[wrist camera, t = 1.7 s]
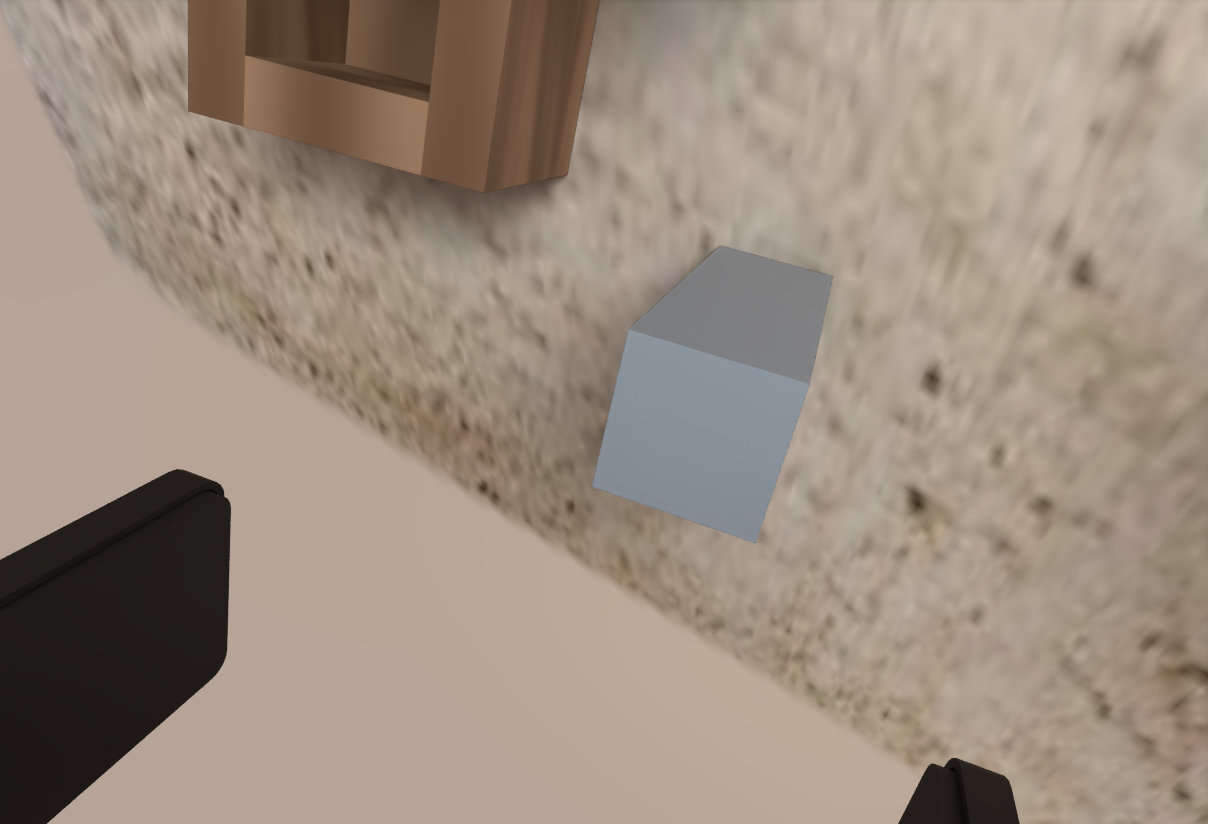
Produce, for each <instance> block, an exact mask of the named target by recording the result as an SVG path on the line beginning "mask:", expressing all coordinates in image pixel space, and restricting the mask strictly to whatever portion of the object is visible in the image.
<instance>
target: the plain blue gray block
mask: <svg viewBox="0 0 1208 824" xmlns="http://www.w3.org/2000/svg"><path fill="white" fill-rule="evenodd" d="M832 280H833V276H830V275H826V274H823V273H819V272H815V271H812V270H808V269H804V268H801V267H797V266H793V265H790V264H786V263H782V262H779V261H775V260H771V259H768V258H764V257H760V256H757V255H753V254H750V253H746V252H742V251H739V250H735V249H731V248H728V247H724V246H719V247H718V248H717V249H716V250H715V251H714V252H713V253H712V254H711V255H710V256H708V257H707V258H706V259H705V260H704V261H703V262H702V263H701V264H700V265H699V266H697V267H696V268H695V269H694V270H693V271H692V272H691V273H690V274H689V275H688V276H687V277H685V278H684V279H683V280H682V281H681V282H680V283H679V284H678V285H677V286H676V287H674V288H673V289H672V290H671V291H670V292H669V293H668V294H667V295H666V296H665V297H663V298H662V299H661V300H660V301H659V302H658V303H657V304H656V305H655V306H654V307H653V308H651V309H650V310H649V311H648V312H647V313H646V314H645V315H644V316H643V317H642V318H640V319H639V320H638V321H637V322H636V323H635V324H634V325H633V326H632V327H631V328H630V329H629V330H628V334H627V338H626V342H625V347H624V351H623V355H622V360H621V364H620V368H619V372H618V377H617V381H616V385H615V390H614V394H613V398H612V402H611V407H610V411H609V415H608V420H607V424H606V428H605V432H604V437H603V441H602V445H601V450H600V454H599V458H598V462H597V467H596V471H595V475H594V480H593V484H592V487H594V488H597V489H600V490H602V491H605V492H608V493H611V494H614V495H617V496H620V497H623V498H626V499H629V500H631V501H634V502H637V503H640V504H643V505H646V506H649V507H652V508H655V509H658V510H660V511H663V512H666V513H669V514H672V515H675V516H678V517H681V518H684V519H686V520H689V521H692V522H695V523H698V524H701V525H704V526H707V527H710V528H713V529H715V530H718V531H721V532H724V533H727V534H730V535H733V536H736V537H739V538H742V539H744V540H747V541H750V542H753V543H756V540H757V537H758V534H759V531H760V528H761V525H762V522H763V519H764V517H765V514H766V511H767V508H768V505H769V502H770V499H771V496H772V493H773V490H774V487H775V484H776V481H777V478H778V475H779V473H780V470H781V467H782V464H783V461H784V458H785V455H786V452H787V449H788V446H789V443H790V440H791V437H792V434H793V431H794V429H795V426H796V423H797V420H798V417H799V414H800V411H801V408H802V405H803V402H804V399H805V396H806V393H807V390H808V387H809V384H810V380H811V376H812V371H813V367H814V362H815V357H816V353H817V348H818V344H819V339H820V335H821V330H822V325H823V321H824V316H825V312H826V307H827V303H828V298H829V294H830V289H831V284H832Z"/></svg>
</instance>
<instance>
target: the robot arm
mask: <svg viewBox="0 0 1208 824" xmlns="http://www.w3.org/2000/svg"><path fill="white" fill-rule="evenodd" d="M230 517H231V506H230V502H229V500H228V499H227V498H225V497H224V490H223V488H222V486H221V485H220V484H218V483H217V482H215V481H212V480H209V479H207V478H204V477H201V476H199V475H196V474H193V473H191V472H188V471H185V470H178V469H176V470H173V471H170V472H168V473H166V474H164V475H162V476H160V477H158V478H156V479H154V480H152V481H151V482H149V483H147V484H145V485H143V486H141V487H139V488H137V489H135V490H133V491H131V492H129V493H128V494H126V495H124V496H122V497H120V498H118V499H116V500H115V501H112V502H111V503H108V504H106V505H105V506H103V507H101V508H99V509H97V510H95V511H93V512H91V513H89V514H87V515H85V516H83V517H82V518H80V519H78V520H76V521H74V522H72V523H70V524H68V525H66V526H64V527H62V528H60V529H58V530H57V531H55V532H53V533H51V534H49V535H47V536H45V537H43V538H41V539H39V540H37V541H35V542H34V543H32V544H30V545H28V546H26V547H24V548H22V549H20V550H18V551H16V552H14V553H12V554H11V555H9V556H7V557H5V558H3V559H1V560H0V824H47V823H48V822H49V821H50V820H51V819H52V818H54V817H55V816H56V815H57V814H58V813H59V812H60V811H62V809H64V808H65V807H66V806H67V805H69V804H70V803H71V802H72V801H73V800H74V799H75V798H76V797H78V796H79V795H80V794H81V793H82V792H83V791H84V790H86V789H87V788H88V787H89V786H90V785H91V784H92V783H94V782H95V781H96V780H97V779H98V778H99V777H100V776H102V775H103V774H104V773H105V772H106V771H107V770H108V769H109V768H111V767H112V766H113V765H114V764H115V763H116V762H118V761H119V760H120V759H121V758H122V757H123V756H124V755H125V754H127V753H128V752H129V751H130V750H131V749H132V748H134V747H135V746H136V745H137V744H138V743H139V742H140V741H142V740H143V739H144V738H145V737H146V736H147V735H148V734H150V733H151V732H152V731H153V730H154V729H155V728H156V727H157V726H159V725H160V724H161V723H162V722H163V721H164V720H166V719H167V718H168V717H169V716H170V715H171V714H172V713H174V712H175V711H176V710H177V709H178V708H179V707H180V706H181V705H183V704H184V703H185V702H186V701H187V700H188V699H189V698H191V697H192V696H193V695H194V694H195V693H196V692H198V690H200V689H201V688H202V687H203V686H204V685H205V684H207V683H208V682H209V681H210V680H211V679H212V678H213V677H214V676H215V675H216V674H217V673H218V671H219V670H220V668H221V667H222V665H223V663H224V660H225V657H226V654H227V636H228V635H227V634H228V598H229V597H228V596H229V560H230V559H229V558H230V522H231V518H230ZM898 824H1020V823H1019V819H1018V815H1017V810H1016V806H1015V801H1014V797H1013V792H1012V788H1011V785H1010V783H1009V780H1008V779H1007V778H1006V777H1005V776H1003V775H1000V774H998V773H995V772H992V771H990V770H987V769H984V768H982V767H979V766H976V765H974V764H971V763H968V762H966V761H963V760H960V759H958V758H952V759H950V760H949V761H948V762H947V764H946V765H945V767H941V766H939V765H936V764H930V765H929V766H928V768H927V769H926V771H925V772H924V774H923V776H922V778H921V780H920V782H919V784H918V786H917V788H916V790H915V792H914V794H913V796H912V798H911V800H910V802H909V804H908V806H907V808H906V810H905V812H904V813H903V816H902V817H901V820H900V821H899V823H898Z"/></svg>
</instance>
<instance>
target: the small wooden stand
mask: <svg viewBox="0 0 1208 824" xmlns="http://www.w3.org/2000/svg"><path fill="white" fill-rule="evenodd" d="M599 1H600V0H188V111H189V112H193V113H197V114H200V115H204V116H208V117H211V118H215V119H218V120H222V121H226V122H229V123H233V124H236V125H240V126H244V127H247V128H251V129H255V130H258V131H262V132H265V133H269V134H273V135H276V136H280V137H283V138H287V139H291V140H294V141H298V142H302V143H305V144H309V145H312V146H316V147H320V148H323V149H327V150H330V151H334V152H338V153H341V154H345V155H349V156H352V157H356V158H359V159H363V160H367V161H370V162H374V163H377V164H381V165H385V166H388V167H392V168H396V169H399V170H403V171H406V172H410V173H414V174H417V175H421V176H424V177H428V178H432V179H435V180H439V181H443V182H446V183H450V184H453V185H457V186H461V187H464V188H468V189H471V190H475V191H479V192H482V193H485V192H490V191H495V190H499V189H504V188H508V187H513V186H518V185H522V184H527V183H531V182H536V181H541V180H545V179H550V178H554V177H559V176H564V175H567V174H568V168H569V163H570V157H571V152H572V147H573V141H574V136H575V130H576V125H577V120H578V114H579V109H580V103H581V98H582V92H583V87H584V82H585V76H586V71H587V65H588V60H589V55H590V49H591V44H592V38H593V33H594V28H595V22H596V17H597V11H598V6H599Z"/></svg>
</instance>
